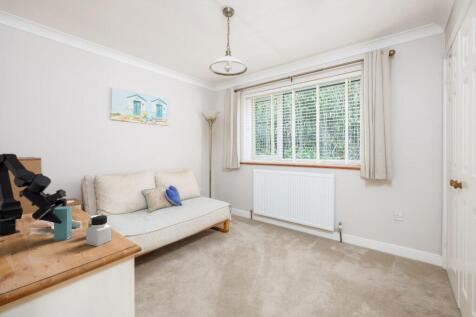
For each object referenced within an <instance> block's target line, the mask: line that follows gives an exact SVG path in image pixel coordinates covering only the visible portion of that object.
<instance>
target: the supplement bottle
mask: <svg viewBox="0 0 476 317" xmlns="http://www.w3.org/2000/svg"><path fill="white" fill-rule="evenodd" d="M98 215H99V214H94V215H91V216H89V221H88V223H87V224H88V225H87V226H88V227H87V228H89V227H92V226H91V219H92V217H94V216H98Z"/></svg>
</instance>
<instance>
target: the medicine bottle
mask: <svg viewBox="0 0 476 317" xmlns="http://www.w3.org/2000/svg"><path fill="white" fill-rule="evenodd" d="M97 215H98V216H94V217H92V219H91V226H92V227H89V228H88V227H87V228H85V229H86V231H85V232H86V233H85V236H86V237H85V244H86V245H90V246H94V247H100V246H102V245H104V243H105V244H106V243H109V242H111V241H112V233H113V232H112V230H113V229H112V228H113V227H112V225H109V224H108V216H107V215H104V214H97Z"/></svg>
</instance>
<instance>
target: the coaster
mask: <svg viewBox="0 0 476 317" xmlns="http://www.w3.org/2000/svg"><path fill="white" fill-rule="evenodd" d="M72 238H73V234H72V235H71V236H70V237H69V238H67V239H58V240H54V238H53V241H54V242H64V241H68V240H70V239H72Z"/></svg>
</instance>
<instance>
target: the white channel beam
mask: <svg viewBox="0 0 476 317" xmlns="http://www.w3.org/2000/svg"><path fill="white" fill-rule="evenodd" d="M81 229H83V221H78V220H74V219H73V220H72V232H75V231H77V230H78V231H79V230H81Z"/></svg>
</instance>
